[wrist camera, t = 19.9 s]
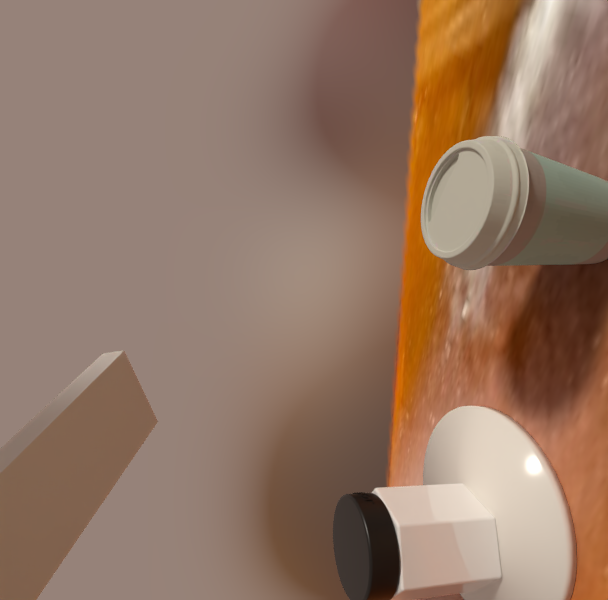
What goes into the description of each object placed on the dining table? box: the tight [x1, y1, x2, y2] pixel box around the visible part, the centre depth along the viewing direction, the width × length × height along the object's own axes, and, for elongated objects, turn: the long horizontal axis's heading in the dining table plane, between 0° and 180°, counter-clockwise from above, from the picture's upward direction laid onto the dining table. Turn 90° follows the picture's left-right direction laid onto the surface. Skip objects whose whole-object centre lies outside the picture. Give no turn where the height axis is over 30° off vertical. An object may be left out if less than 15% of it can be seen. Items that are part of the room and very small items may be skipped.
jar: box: [333, 483, 502, 600], centre depth 37 cm, size 9×8×12 cm
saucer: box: [423, 406, 577, 600], centre depth 38 cm, size 18×18×1 cm
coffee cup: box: [421, 136, 608, 270], centre depth 29 cm, size 9×8×12 cm
